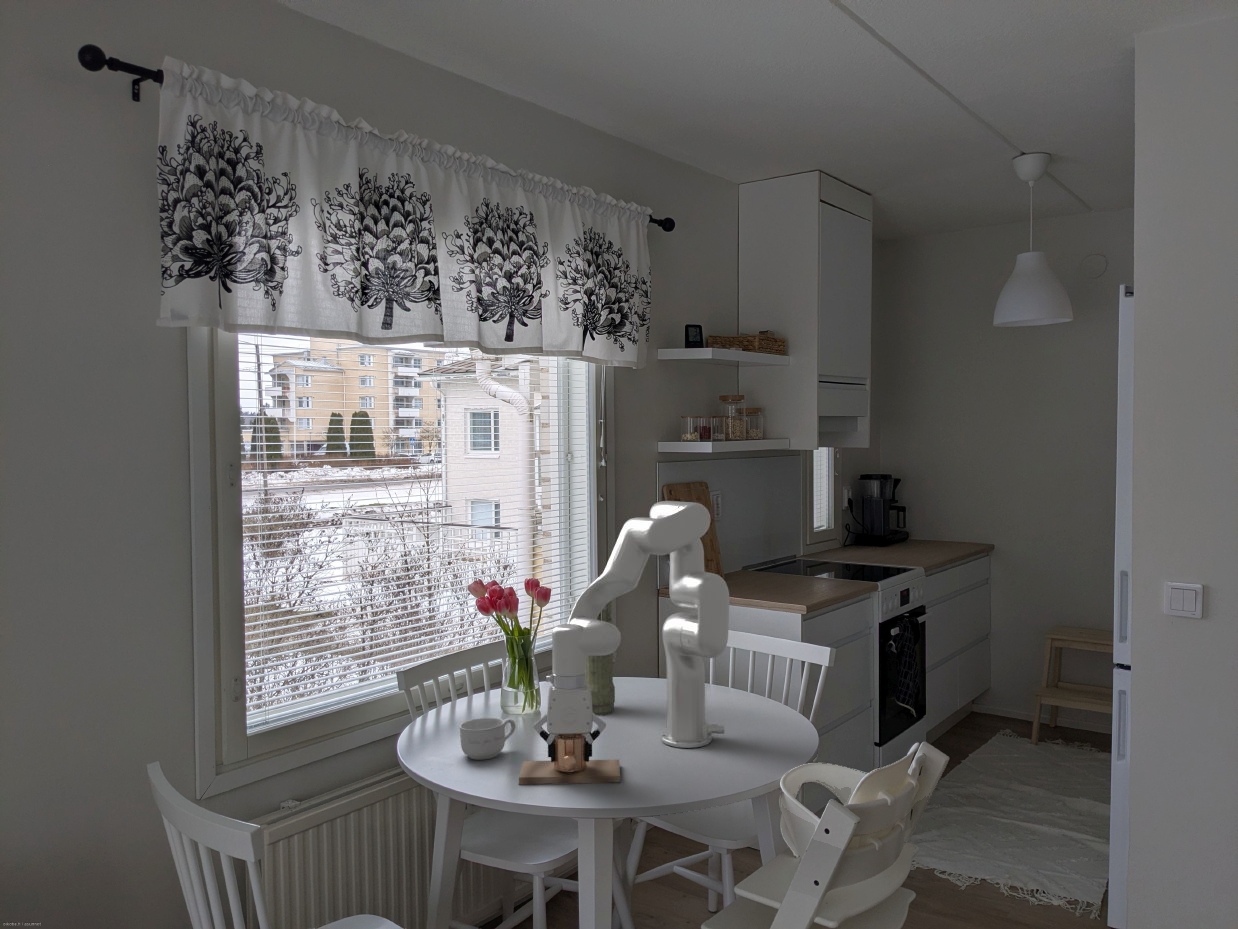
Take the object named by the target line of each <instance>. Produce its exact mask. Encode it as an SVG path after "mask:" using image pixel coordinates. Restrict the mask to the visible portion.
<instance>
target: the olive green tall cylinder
mask: <svg viewBox="0 0 1238 929" xmlns="http://www.w3.org/2000/svg"><path fill="white" fill-rule="evenodd" d="M590 585H591V584H589V585H587V586H586V588H585V590H586V589H587V588H588V587H589V586H590ZM611 614H612V600H611V601H610V602H608V603H607V604H606V605H605V606H604V608H603V609H602V610H601V612H600V613H599V615H598V617H597V620H600V621H604V622H608V623H611V624H613V622H612V621H613V620H612V616H611ZM613 666H614V665H613V653H611V654H608V655H602V656H587V657H586V685H589V688H590V692H591V699H592V712H593V713H594V714H595V715H597V716H606V715H609V714H613V713H614V712H615V702H616V696H615V695H616V692H615V688H616V687H615V684H614V678H613V674H614V673H613V672H614V671H613Z"/></svg>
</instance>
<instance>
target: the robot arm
mask: <svg viewBox="0 0 1238 929" xmlns="http://www.w3.org/2000/svg"><path fill="white" fill-rule="evenodd" d="M710 526H711V514H710V512H709V509H708V508H707V506H705V505H703V504H701V503H699V502H692V501H678V500H677V501H676V500H662V501H658V502H655V503H654V504H653V505H652V506H651V508H650V510H649V517H644V516H643V517H641V516H639V517H638V516H637V517H633V518H629V519H628V520H627V521H625V523H624V524H623V526H622V528H621V530H620V533H619V534H618V536H617V537H618V538H617V539H616V542H615V543H614V547H613V549H612V551H611V554H610V556H609V558H608V560H607V564H606V565H605V567H604V570H603V572H602V573H601V574H600V575H599V576H598V577H597V578H596V579H595V580H594V581H592V582H591V584H589V585H590V586H589V585H588V586H589V587H588V588H587V587H586V588H587V589H586V588H585V590H584V591H583V592H582V593H581V594H580V596H578V598H577V600H576V602H575V603H574V607H573V608H572V610H571V613H570V615H569V618H568V621H567V623H565V624H564V623H563V624H559V625H556V626H555V627H554V628H553V629H552V634H551V641H552V645H551V647H552V650H551V652H552V655H551V656H552V658H551V659H552V673H551V674H549V675H546V677H545V683H551V686H549V688H548V694H547V703H546V704H547V705H546V713H545V714H544V715H543V716H542V717H540V718H539V719H538V720H537V721H536V722H534V724H533V729H534V730H535V732H536V733H537V734H538V735H539V737H541V739H543V741H544V742H545V743H546V744H547V758H550V761H551V762H554V737H555V735H556V734H584V736H585V738H586V761H587V762H589V760H590V758H591V757H593V743H594V741H595V740H597V738H599V736H600V734H601V733H602V732H603V731H604V730H605V729H606V728H607V723H606V722H605V721H604V720H603V719H602V718H601V717H599V715H595V714H594V713H593V712H592V699H591V692H590V688H589V685H586V657H587V656H602V655H608V654H611V653H612V654H613V653H614V652H615V651H617V649H618V648H619V646H620V645H621V642H622V641H621V640H622V635H621V632H620V630H619V628H618V627H617V626H615V625H614V624H613V623H612V624H611V623H608V622H604V621H600V620H597V617H598V615H599V613H600V612H601V610H602V609H603V608H604V606H605V605H606V604H607V603H608V602H610V601H611V602H612V601H613V600H614V599H616V598H617V597H620V596H623V595H625V594H627V593H629V592H631V591H633V590H634V589H636V588H637V586H638V585H639V582H640V579H641V577H642V575H643V571H644V570H645V567H646V565H647V562H648V560H649V558H650V555H655V556H665V555H669V579H668V580H669V583H668V584H669V585H668V586H669V587H668V589H669V590H668V591H669V598H670V601H671V602H672V603H673V604H674V605H675V606H677V607H680V608H684V609H689V610H693V611H697V614H693V613H688V612H676V613H673V614H670V615H669V616H668V617H667V618H666V619H665V621H664V623H663V625H662V631H661V637H662V644H663V648H664V652H665V653H664V655H665V660H666V662H665V663H666V666H665V667H666V730H665V731H662V732H661V734H660V740H661V741H662V743H663V744H665V745H667V746H671V747H673V748H674V747H675V748H680V749H681V748H682V749H687V748H688V749H691V748H699V747H705V746H707V745H709V744H710V743H711V742H712V737H713V736H712V734H717V735H719V734H720V735H721V734H725V725H719V723H709V722H707V719H706V684H705V682H706V681H705V680H706V669H705V664H704V660H703V658H707V659H715V658H718V657H720V656H721V655H722V654H723V653H724V651H725V650H726V647H727V644H728V641H729V631H730V630H729V628H730V627H729V625H730V624H729V623H730V590H729V588H728V585H727V582H726V581H725V580H724V578H723V577H721V576H720V575H719V574H716V573H712V572H708V571H707V572H706V571H705V551H704V545H703V542H702V540H701V538H702V537H703V536H704V535H705V534H706V533H707V531H708V530H709V528H710ZM594 723H595V724H596V725H597V727H596V728H595V729H594V730H593V724H594ZM544 724H546V730H545V729H544V728H543V726H544ZM592 730H593V731H592Z"/></svg>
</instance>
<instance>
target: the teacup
mask: <svg viewBox="0 0 1238 929" xmlns="http://www.w3.org/2000/svg"><path fill="white" fill-rule="evenodd" d="M507 724H510V729H508V731H507V733H506V732H505V731H506V730H505V728H506V726H507ZM515 730H516V722H515V720H514V719H512V718H510V717H509V718H504V719H502V718H500V717H499V718H498V717H491V716H490V717H478V718H472V719H469V720H465V721H464V722H462V723H460V724H459V733H460V734H459V736H460V746H461V751H462V752H463V754H464V755H466V756H467V757H469V758H470V759H472V760H477V761H478V760H479V761H480V760H481V761H482V760H489V759H493V758H496V757H497V756H498V755H499V753H501V751H502V750H503V749H504V748H505V745H506V744H505V743H506V742H507V740H508V739H509V738H511V736H512V735H513V734H514V733H515Z"/></svg>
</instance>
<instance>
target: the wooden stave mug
mask: <svg viewBox="0 0 1238 929" xmlns="http://www.w3.org/2000/svg"><path fill="white" fill-rule="evenodd" d="M586 741H587V739H586V738H585V736H584V734H556V735H555V737H554V768H555V769H557V770H559V771H564V772H565V771H566V772H574V771H579V770H583V769H584V768H586V765H587V761H586Z"/></svg>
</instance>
